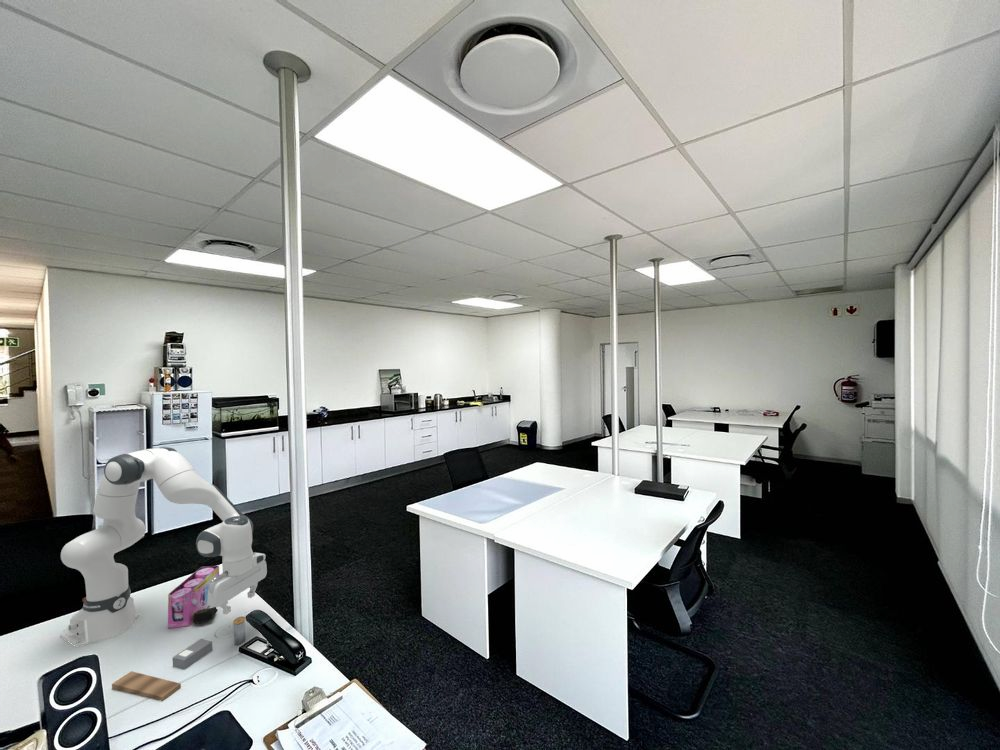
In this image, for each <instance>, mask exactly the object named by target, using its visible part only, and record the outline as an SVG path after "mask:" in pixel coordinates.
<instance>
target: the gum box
mask: <svg viewBox="0 0 1000 750" xmlns="http://www.w3.org/2000/svg"><path fill="white" fill-rule="evenodd" d="M219 575H220V565H209V566H200V567H199V568H198V569H197V570H195V572H193V573H192V574H191V575H189V576H188V577H187V578H186V579H185V580H184V581H182V582H181V583H179V585H178V586H176V587H175V588H174V589H173V590H172V591H170V592H169V593H168V595H167V596H168V597H167V599H168V600H167V604H168V605H167V627H168V629H171V628H183V627H184V628H185V627H190V625H192V623H194V622H193V615H194V613H195V612H197V611H199V610H202V609H206V608H210V606H209V605H208V604H207V600H208V590H209V584H210V583H211V581H212V580H213V578H215V577H217V576H219Z"/></svg>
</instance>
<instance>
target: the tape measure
mask: <svg viewBox="0 0 1000 750" xmlns="http://www.w3.org/2000/svg"><path fill="white" fill-rule="evenodd" d="M218 610H219V609H217V607H207V608H206V609H202V610H199V611H197V612H195V613H194V615H193V622H192V623H195V624H201V623H203V622H207V621H210V620H212V619H213V617H214V616H215V615H216V614H217V613H218Z"/></svg>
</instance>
